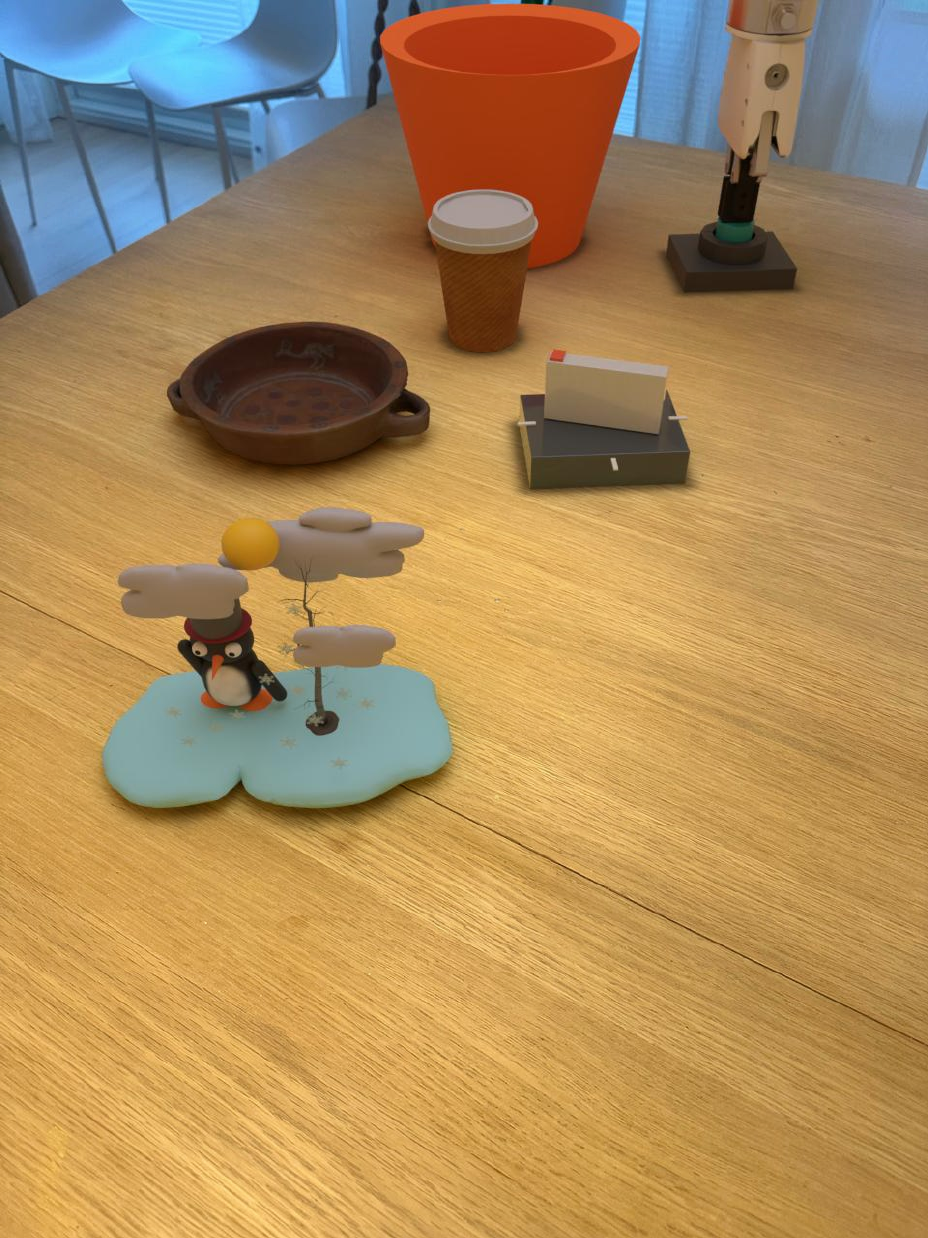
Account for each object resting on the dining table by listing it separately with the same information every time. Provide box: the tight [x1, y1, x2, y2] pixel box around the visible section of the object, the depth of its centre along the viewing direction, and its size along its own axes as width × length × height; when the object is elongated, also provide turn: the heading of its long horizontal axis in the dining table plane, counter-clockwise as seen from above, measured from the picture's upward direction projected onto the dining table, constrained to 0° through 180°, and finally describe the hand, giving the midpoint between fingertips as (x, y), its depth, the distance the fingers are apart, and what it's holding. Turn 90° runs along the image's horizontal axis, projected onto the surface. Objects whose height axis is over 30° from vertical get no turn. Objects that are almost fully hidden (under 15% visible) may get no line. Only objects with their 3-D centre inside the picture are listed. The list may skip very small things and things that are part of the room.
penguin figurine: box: [101, 506, 454, 809], centre depth 57 cm, size 20×11×15 cm, turn 90°
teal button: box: [715, 217, 756, 242], centre depth 105 cm, size 4×4×2 cm
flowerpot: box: [379, 3, 641, 269], centre depth 108 cm, size 25×25×20 cm
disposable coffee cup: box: [427, 190, 538, 353], centre depth 94 cm, size 10×10×12 cm
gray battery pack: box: [544, 349, 670, 434], centre depth 80 cm, size 9×2×5 cm, turn 74°
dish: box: [166, 321, 431, 466], centre depth 86 cm, size 17×22×5 cm
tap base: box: [517, 389, 691, 490], centre depth 83 cm, size 13×13×3 cm
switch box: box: [665, 221, 798, 293], centre depth 107 cm, size 11×9×4 cm
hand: (734, 219), depth 104 cm, fingers closed
